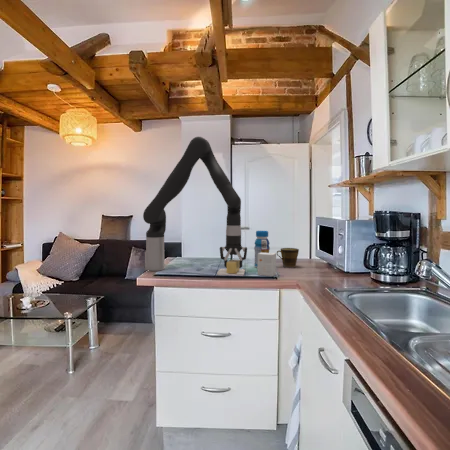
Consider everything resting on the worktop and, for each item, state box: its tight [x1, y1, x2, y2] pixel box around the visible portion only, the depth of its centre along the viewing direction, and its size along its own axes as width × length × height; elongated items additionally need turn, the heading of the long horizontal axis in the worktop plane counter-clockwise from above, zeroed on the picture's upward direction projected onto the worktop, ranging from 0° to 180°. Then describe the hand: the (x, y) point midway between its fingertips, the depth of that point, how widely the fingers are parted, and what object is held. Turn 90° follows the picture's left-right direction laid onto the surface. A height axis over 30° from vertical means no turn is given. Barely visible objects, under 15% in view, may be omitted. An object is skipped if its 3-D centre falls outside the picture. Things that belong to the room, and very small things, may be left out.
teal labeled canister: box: [253, 230, 271, 269], centre depth 166 cm, size 8×8×20 cm
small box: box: [257, 252, 277, 277], centre depth 146 cm, size 8×6×10 cm
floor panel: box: [216, 268, 246, 277], centre depth 150 cm, size 13×12×1 cm
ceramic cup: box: [276, 247, 300, 269], centre depth 167 cm, size 13×10×10 cm
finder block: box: [226, 259, 241, 273], centre depth 150 cm, size 5×9×5 cm, turn 165°
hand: (233, 267), depth 150 cm, fingers open, 6 cm apart
